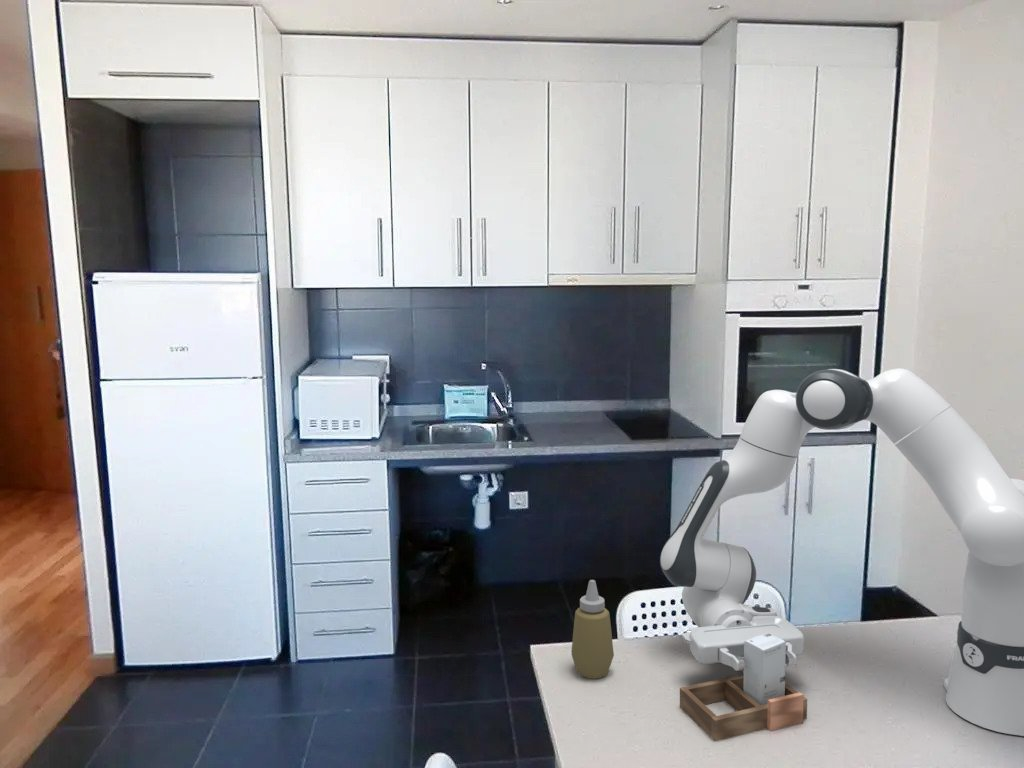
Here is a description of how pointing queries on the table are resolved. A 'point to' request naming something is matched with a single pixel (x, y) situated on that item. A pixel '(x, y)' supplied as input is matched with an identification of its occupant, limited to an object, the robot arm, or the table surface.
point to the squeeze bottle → (592, 635)
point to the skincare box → (764, 668)
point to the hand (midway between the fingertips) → (766, 663)
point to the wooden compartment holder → (740, 708)
